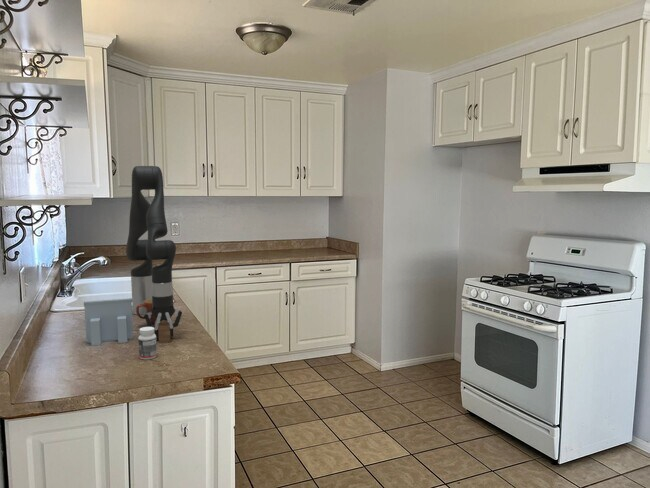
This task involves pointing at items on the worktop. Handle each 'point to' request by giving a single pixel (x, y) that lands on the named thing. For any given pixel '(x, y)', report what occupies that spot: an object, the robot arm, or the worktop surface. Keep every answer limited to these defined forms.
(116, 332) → the grey two-legged bench
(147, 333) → the pill bottle
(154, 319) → the mug
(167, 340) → the bed rail
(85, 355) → the worktop surface
